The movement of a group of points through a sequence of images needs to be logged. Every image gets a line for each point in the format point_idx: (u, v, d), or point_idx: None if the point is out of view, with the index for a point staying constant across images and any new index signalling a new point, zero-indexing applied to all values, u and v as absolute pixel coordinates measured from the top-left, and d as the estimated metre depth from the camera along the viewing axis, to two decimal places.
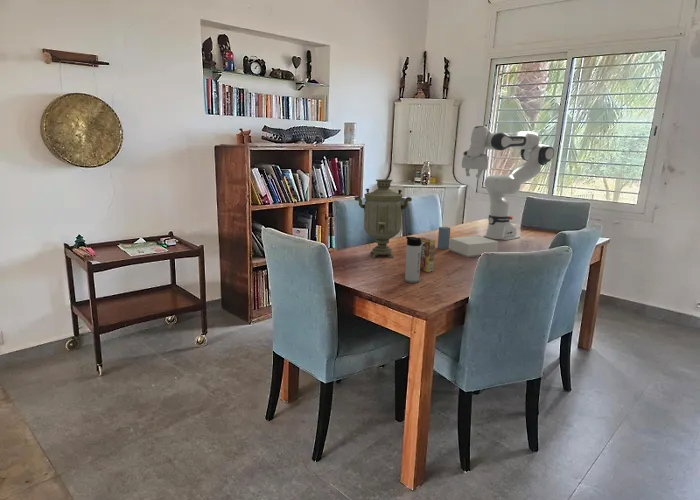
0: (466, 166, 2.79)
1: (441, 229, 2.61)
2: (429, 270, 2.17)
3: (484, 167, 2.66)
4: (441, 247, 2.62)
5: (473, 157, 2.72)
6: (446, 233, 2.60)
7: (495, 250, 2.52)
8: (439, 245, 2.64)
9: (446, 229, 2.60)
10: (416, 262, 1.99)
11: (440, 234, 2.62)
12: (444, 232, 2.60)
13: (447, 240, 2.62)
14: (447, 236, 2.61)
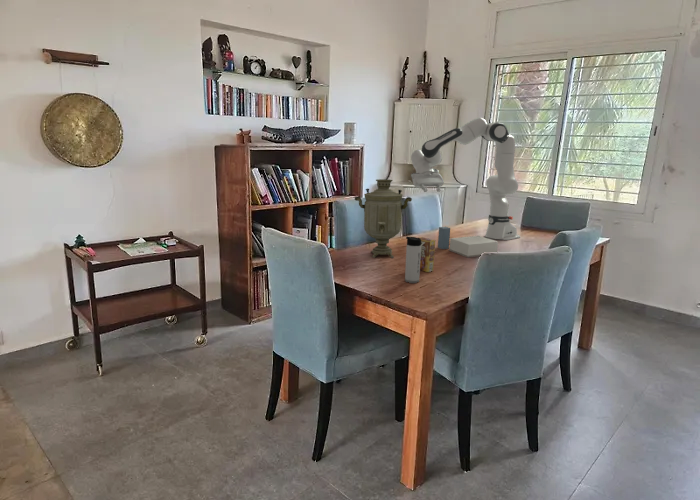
0: None
1: (441, 229, 2.61)
2: (429, 270, 2.17)
3: (414, 183, 2.72)
4: (441, 247, 2.62)
5: None
6: (446, 233, 2.60)
7: (495, 250, 2.52)
8: (439, 245, 2.64)
9: (446, 229, 2.60)
10: (416, 262, 1.99)
11: (440, 234, 2.62)
12: (444, 232, 2.60)
13: (447, 240, 2.62)
14: (447, 236, 2.61)
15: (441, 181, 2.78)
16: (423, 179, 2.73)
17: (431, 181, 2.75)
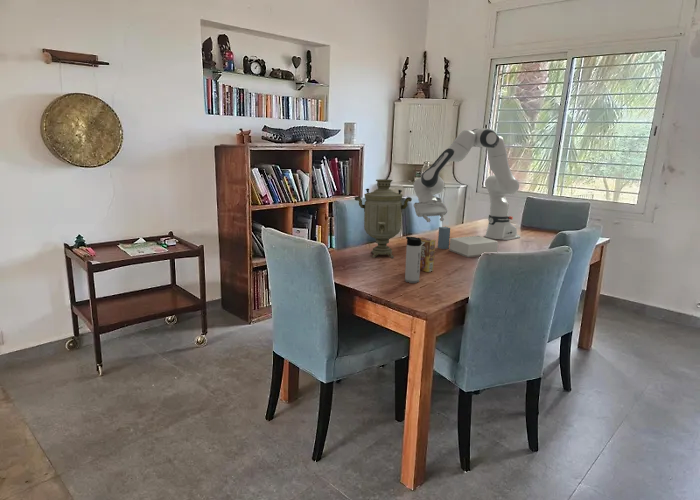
0: None
1: (441, 229, 2.61)
2: (429, 270, 2.17)
3: (417, 214, 2.68)
4: (441, 247, 2.62)
5: None
6: (446, 233, 2.60)
7: (495, 250, 2.52)
8: (439, 245, 2.64)
9: (446, 229, 2.60)
10: (416, 262, 1.99)
11: (440, 234, 2.62)
12: (444, 232, 2.60)
13: (447, 240, 2.62)
14: (447, 236, 2.61)
15: (444, 210, 2.73)
16: (426, 209, 2.69)
17: (434, 210, 2.70)
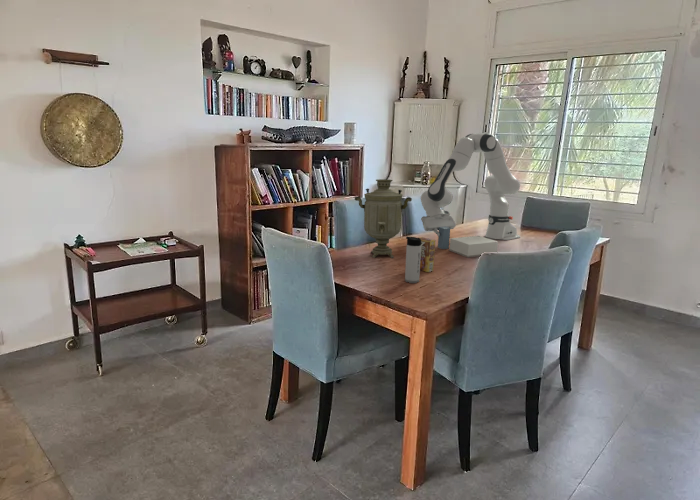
0: None
1: (441, 229, 2.61)
2: (429, 270, 2.17)
3: (424, 228, 2.62)
4: (441, 247, 2.62)
5: None
6: (446, 233, 2.60)
7: (495, 250, 2.52)
8: (439, 245, 2.64)
9: (446, 229, 2.60)
10: (416, 262, 1.99)
11: None
12: (444, 232, 2.60)
13: (447, 240, 2.62)
14: (447, 236, 2.61)
15: (453, 224, 2.67)
16: (434, 223, 2.63)
17: (442, 224, 2.64)
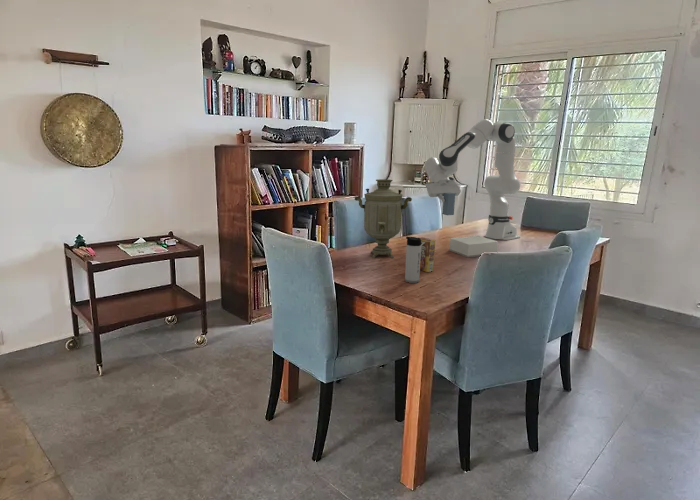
0: None
1: (446, 195, 2.55)
2: (429, 270, 2.17)
3: (429, 194, 2.57)
4: (446, 213, 2.57)
5: None
6: (451, 199, 2.55)
7: (495, 250, 2.52)
8: (444, 211, 2.58)
9: (451, 194, 2.54)
10: (416, 262, 1.99)
11: None
12: (449, 198, 2.54)
13: (452, 206, 2.56)
14: (452, 202, 2.56)
15: (458, 190, 2.62)
16: (439, 189, 2.58)
17: (447, 190, 2.59)
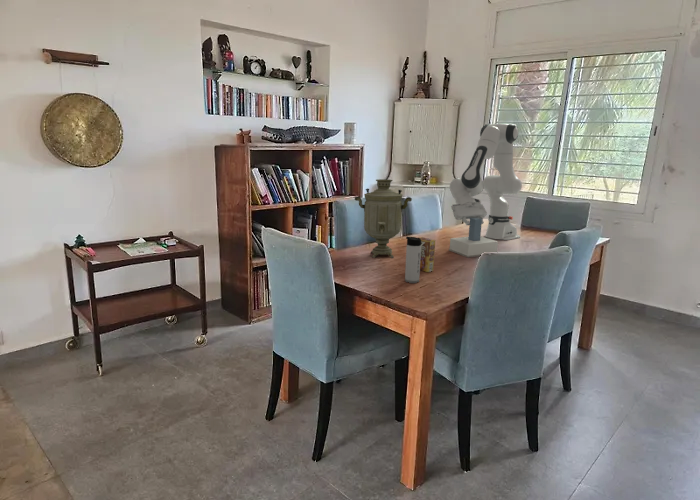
0: None
1: (472, 220, 2.51)
2: (429, 270, 2.17)
3: (455, 216, 2.52)
4: (472, 239, 2.52)
5: None
6: (478, 224, 2.50)
7: (495, 250, 2.52)
8: (470, 237, 2.54)
9: (478, 220, 2.50)
10: (416, 262, 1.99)
11: (472, 225, 2.52)
12: (475, 223, 2.50)
13: (478, 231, 2.52)
14: (479, 227, 2.51)
15: (484, 212, 2.57)
16: (465, 211, 2.53)
17: (473, 213, 2.54)
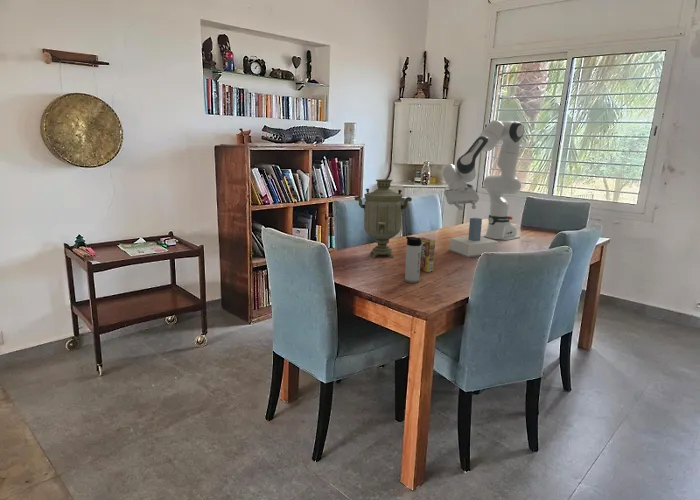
0: None
1: (472, 220, 2.51)
2: (429, 270, 2.17)
3: (448, 201, 2.57)
4: (472, 239, 2.52)
5: None
6: (478, 224, 2.50)
7: (495, 250, 2.52)
8: (470, 237, 2.54)
9: (478, 220, 2.50)
10: (416, 262, 1.99)
11: (472, 225, 2.52)
12: (475, 223, 2.50)
13: (478, 231, 2.52)
14: (479, 227, 2.51)
15: (476, 197, 2.62)
16: (457, 196, 2.58)
17: (466, 198, 2.59)
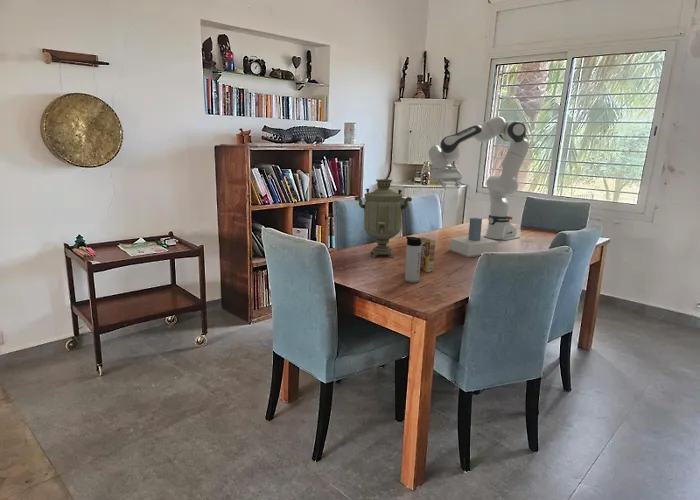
0: None
1: (472, 220, 2.51)
2: (429, 270, 2.17)
3: (432, 179, 2.75)
4: (472, 239, 2.52)
5: None
6: (478, 224, 2.50)
7: (495, 250, 2.52)
8: (470, 237, 2.54)
9: (478, 220, 2.50)
10: (416, 262, 1.99)
11: (472, 225, 2.52)
12: (475, 223, 2.50)
13: (478, 231, 2.52)
14: (479, 227, 2.51)
15: (459, 176, 2.80)
16: (441, 174, 2.76)
17: (449, 176, 2.77)
